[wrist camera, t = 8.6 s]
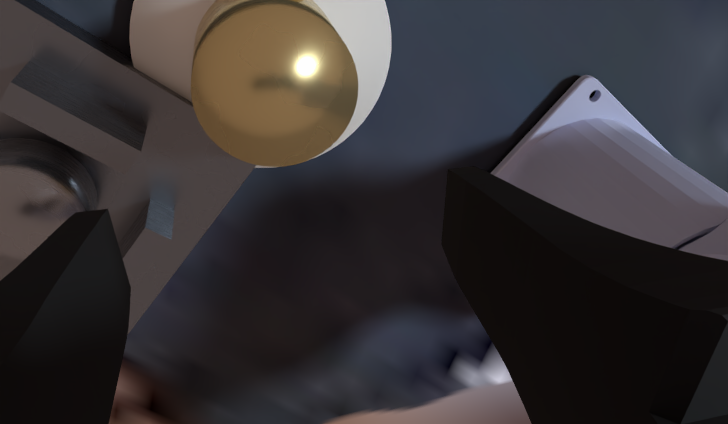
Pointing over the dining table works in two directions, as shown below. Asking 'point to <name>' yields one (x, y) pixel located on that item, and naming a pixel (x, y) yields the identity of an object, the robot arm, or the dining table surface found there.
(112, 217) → the post base
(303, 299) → the dining table surface
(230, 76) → the cap
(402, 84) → the dining table surface
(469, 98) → the dining table surface
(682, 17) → the dining table surface
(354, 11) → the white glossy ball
